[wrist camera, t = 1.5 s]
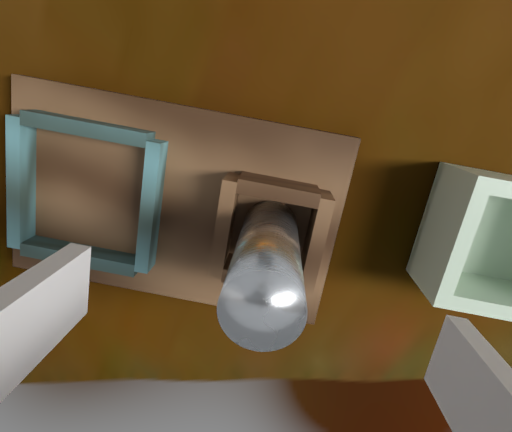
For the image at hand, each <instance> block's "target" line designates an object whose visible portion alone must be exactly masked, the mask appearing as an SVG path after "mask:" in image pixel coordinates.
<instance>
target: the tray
mask: <svg viewBox="0 0 512 432" xmlns="http://www.w3.org/2000/svg"><path fill="white" fill-rule="evenodd" d="M406 271H407V272H408V274H409V275H410V276H411V278H412V279H413V280H414V282H415V283H416V284H417V286H418V287H419V288H420V290H421V291H422V292H423V294H424V295H425V296H426V298H427V299H428V300H429V302H430V303H431V305H432V306H433V307H439V308H444V309H449V310H454V311H459V312H465V313H470V314H475V315H480V316H485V317H491V318H496V319H501V320H506V321H512V175H509V174H504V173H498V172H493V171H488V170H482V169H477V168H471V167H466V166H461V165H455V164H450V163H445V162H440V163H439V166H438V170H437V173H436V176H435V179H434V182H433V185H432V189H431V192H430V195H429V198H428V201H427V204H426V207H425V211H424V214H423V217H422V220H421V223H420V226H419V229H418V233H417V236H416V239H415V242H414V245H413V248H412V252H411V255H410V258H409V261H408V264H407V267H406Z"/></svg>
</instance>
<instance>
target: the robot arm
mask: <svg viewBox="0 0 512 432" xmlns="http://www.w3.org/2000/svg"><path fill="white" fill-rule="evenodd" d="M90 261H91V246H85V245H80V244H75V243H70V244H68V245H67V246H65V247H63V248H62V249H60V250H59V251H57V252H55V253H54V254H52V255H51V256H49V257H47V258H46V259H44V260H43V261H41V262H39V263H38V264H36V265H35V266H33V267H31V268H30V269H28V270H27V271H25V272H23V273H22V274H20V275H19V276H17V277H15V278H14V279H12V280H11V281H9V282H7V283H6V284H4V285H3V286H1V287H0V403H1V402H2V401H3V400H4V399H5V398H6V397H7V396H8V394H10V392H11V391H12V390H13V389H14V388H15V387H16V386H17V385H18V384H19V383H20V382H21V381H22V380H23V379H24V378H25V377H26V376H27V375H28V374H29V373H30V372H31V371H32V370H33V369H34V368H35V367H36V365H37V364H38V363H39V362H40V361H41V360H42V359H43V358H44V357H45V356H46V355H47V354H48V353H49V352H50V351H51V350H52V349H53V348H54V347H55V346H56V345H57V344H58V343H59V342H60V341H61V340H62V338H63V337H64V336H65V335H66V334H67V333H68V332H69V331H70V330H71V329H72V328H73V327H74V326H75V325H76V324H77V323H78V322H79V321H80V320H81V319H82V318H83V317H84V316H85V315H86V314H87V308H88V292H89V276H90ZM424 379H425V381H426V383H427V385H428V387H429V389H430V391H431V393H432V394H433V396H434V398H435V400H436V402H437V404H438V406H439V407H440V409H441V411H442V413H443V415H444V417H445V419H446V421H447V423H448V424H449V426H450V428H451V430H452V432H512V368H511V367H510V366H509V365H508V364H507V363H506V361H505V360H504V359H503V358H502V357H501V356H500V355H499V354H498V352H497V351H496V350H495V349H494V348H493V347H492V346H491V345H490V343H489V342H488V341H487V340H486V339H485V338H484V337H483V336H482V335H481V333H480V332H479V331H478V330H477V329H476V328H475V327H474V326H473V324H472V323H471V322H470V321H469V320H468V319H466V318H460V317H455V316H450V315H446V318H445V320H444V323H443V326H442V329H441V332H440V334H439V337H438V340H437V343H436V346H435V349H434V351H433V354H432V357H431V360H430V363H429V365H428V368H427V371H426V374H425V377H424Z"/></svg>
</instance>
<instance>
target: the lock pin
mask: <svg viewBox="0 0 512 432" xmlns="http://www.w3.org/2000/svg"><path fill="white" fill-rule="evenodd" d="M307 313H308V310H307V302H306V294H305V286H304V277H303V269H302V261H301V253H300V245H299V237H298V228H297V221H296V217H295V215H294V213H293V212H292V211H291V209H290V208H289V207H288V206H286V205H285V204H283V203H281V202H277V201H272V200H268V201H263V202H260V203H258V204H256V205H254V206H253V207H252V208H251V209H250V210H249V211H248V213H247V215H246V217H245V220H244V223H243V226H242V229H241V232H240V235H239V238H238V241H237V244H236V247H235V250H234V253H233V256H232V259H231V262H230V265H229V269H228V272H227V275H226V278H225V281H224V284H223V287H222V290H221V293H220V296H219V299H218V303H217V316H218V321H219V324H220V326H221V328H222V330H223V331H224V332H225V334H226V335H227V336H228V337H229V338H230V339H231V340H232V341H233V342H235V343H236V344H238V345H239V346H241V347H243V348H246V349H249V350H253V351H259V352H268V351H274V350H278V349H281V348H284V347H286V346H288V345H289V344H291V343H292V342H293V341H295V340H296V339H297V338H298V337H299V335H300V334H301V333H302V331H303V329H304V327H305V324H306V321H307Z"/></svg>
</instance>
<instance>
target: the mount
mask: <svg viewBox="0 0 512 432" xmlns="http://www.w3.org/2000/svg"><path fill="white" fill-rule="evenodd" d="M5 135H6V213H7V247H10V248H13V266H14V267H19V268H24V269H30V268H31V267H33V266H35V265H36V264H38V263H39V262H41V261H43V260H44V259H46V258H47V257H49V256H51V255H52V254H54V253H55V252H57V251H59V250H60V249H62V248H63V247H65V246H67V245H68V244H70V243H75V244H80V245H85V246H91V261H90V276H89V281H91V282H96V283H102V284H107V285H112V286H117V287H122V288H128V289H133V290H138V291H143V292H148V293H153V294H159V295H164V296H169V297H174V298H179V299H184V300H190V301H195V302H200V303H205V304H210V305H215V306H217V303H218V299H219V296H220V293H221V290H222V287H223V284H224V281H225V278H226V275H227V272H228V269H229V265H230V262H231V259H232V256H233V253H234V250H235V247H236V244H237V241H238V238H239V235H240V232H241V229H242V226H243V223H244V220H245V217H246V215H247V213H248V211H249V210H250V209H251V208H252V207H253V206H254V205H256V204H258V203H260V202H263V201H268V200H272V201H277V202H281V203H283V204H285V205H286V206H288V207H289V208H290V209H291V211H292V212H293V213H294V215H295V217H296V221H297V228H298V237H299V245H300V253H301V261H302V269H303V277H304V286H305V294H306V302H307V310H308V313H307V321H306V323H309V324H314V323H315V319H316V315H317V311H318V307H319V303H320V299H321V295H322V291H323V287H324V283H325V279H326V275H327V271H328V267H329V263H330V259H331V256H332V252H333V248H334V244H335V240H336V236H337V232H338V228H339V224H340V220H341V216H342V212H343V208H344V204H345V200H346V196H347V192H348V188H349V184H350V180H351V176H352V173H353V169H354V165H355V161H356V157H357V153H358V149H359V145H360V141H361V139H360V138H358V137H353V136H348V135H342V134H337V133H332V132H326V131H321V130H315V129H310V128H305V127H299V126H294V125H288V124H283V123H278V122H272V121H267V120H262V119H256V118H251V117H245V116H240V115H235V114H229V113H224V112H218V111H213V110H208V109H202V108H197V107H192V106H186V105H181V104H175V103H170V102H165V101H159V100H154V99H149V98H143V97H138V96H132V95H127V94H122V93H116V92H111V91H105V90H100V89H95V88H89V87H84V86H79V85H73V84H68V83H62V82H57V81H52V80H46V79H41V78H36V77H30V76H25V75H17V74H11V114H9V115H5Z"/></svg>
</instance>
